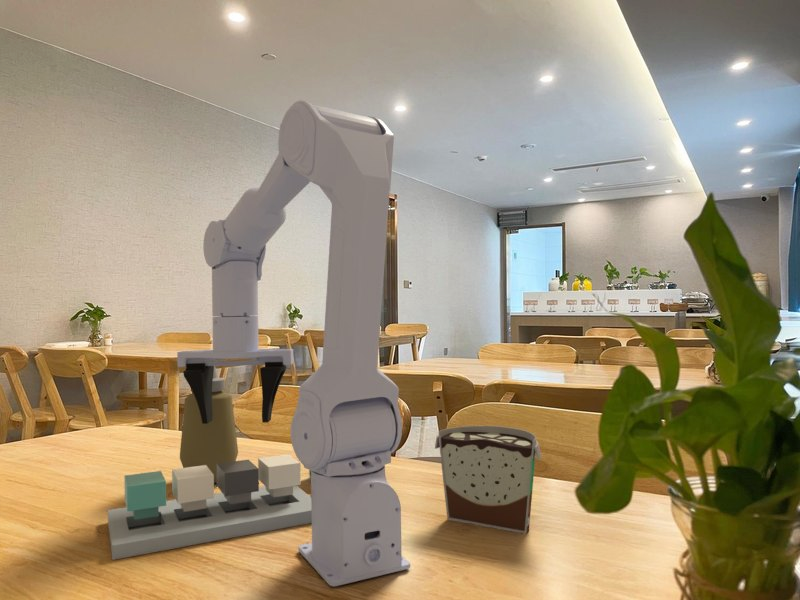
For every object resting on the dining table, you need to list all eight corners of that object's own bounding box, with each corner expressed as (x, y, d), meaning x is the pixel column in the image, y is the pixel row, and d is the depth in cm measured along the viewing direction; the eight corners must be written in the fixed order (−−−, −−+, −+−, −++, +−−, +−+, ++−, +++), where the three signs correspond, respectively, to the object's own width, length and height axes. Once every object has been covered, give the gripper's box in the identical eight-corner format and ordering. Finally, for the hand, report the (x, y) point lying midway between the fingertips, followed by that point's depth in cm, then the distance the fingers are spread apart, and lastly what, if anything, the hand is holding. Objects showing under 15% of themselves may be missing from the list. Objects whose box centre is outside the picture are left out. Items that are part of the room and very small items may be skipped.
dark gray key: (258, 501, 70) (258, 468, 70) (225, 507, 68) (224, 473, 68) (248, 490, 74) (248, 459, 74) (216, 495, 73) (216, 463, 73)
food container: (556, 518, 70) (555, 430, 70) (540, 536, 64) (538, 441, 64) (458, 502, 76) (457, 421, 76) (435, 517, 71) (434, 430, 71)
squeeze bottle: (167, 486, 84) (165, 356, 85) (200, 470, 92) (198, 351, 92) (220, 489, 82) (218, 356, 83) (248, 473, 90) (247, 351, 90)
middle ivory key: (214, 508, 68) (213, 474, 68) (178, 514, 66) (177, 479, 66) (206, 497, 72) (206, 465, 72) (172, 502, 70) (172, 469, 70)
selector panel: (324, 520, 70) (324, 508, 70) (112, 559, 60) (112, 545, 60) (292, 492, 81) (292, 481, 81) (108, 522, 70) (107, 509, 71)
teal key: (166, 516, 66) (165, 481, 66) (127, 523, 64) (127, 486, 64) (161, 504, 70) (160, 470, 70) (124, 509, 68) (124, 475, 68)
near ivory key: (300, 494, 72) (300, 462, 72) (269, 500, 71) (268, 467, 71) (288, 484, 77) (288, 454, 77) (258, 489, 75) (258, 458, 75)
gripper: (296, 315, 83) (298, 415, 83) (189, 316, 83) (191, 417, 83) (287, 315, 76) (289, 425, 76) (170, 317, 76) (172, 427, 76)
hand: (237, 421), depth 79 cm, fingers open, 7 cm apart
